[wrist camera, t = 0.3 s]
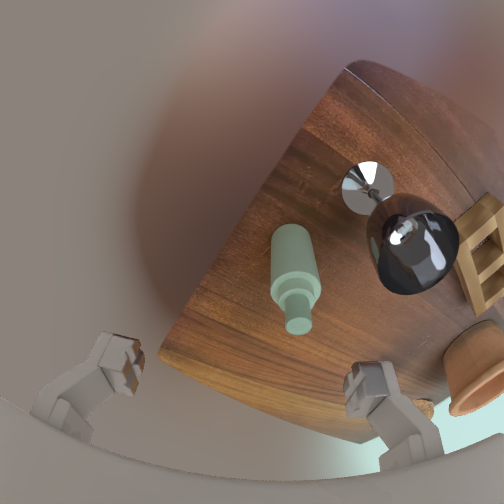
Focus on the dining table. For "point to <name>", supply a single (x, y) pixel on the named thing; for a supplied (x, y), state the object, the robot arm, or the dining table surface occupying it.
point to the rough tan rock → (425, 407)
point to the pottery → (475, 368)
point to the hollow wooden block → (481, 253)
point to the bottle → (294, 276)
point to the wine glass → (401, 230)
